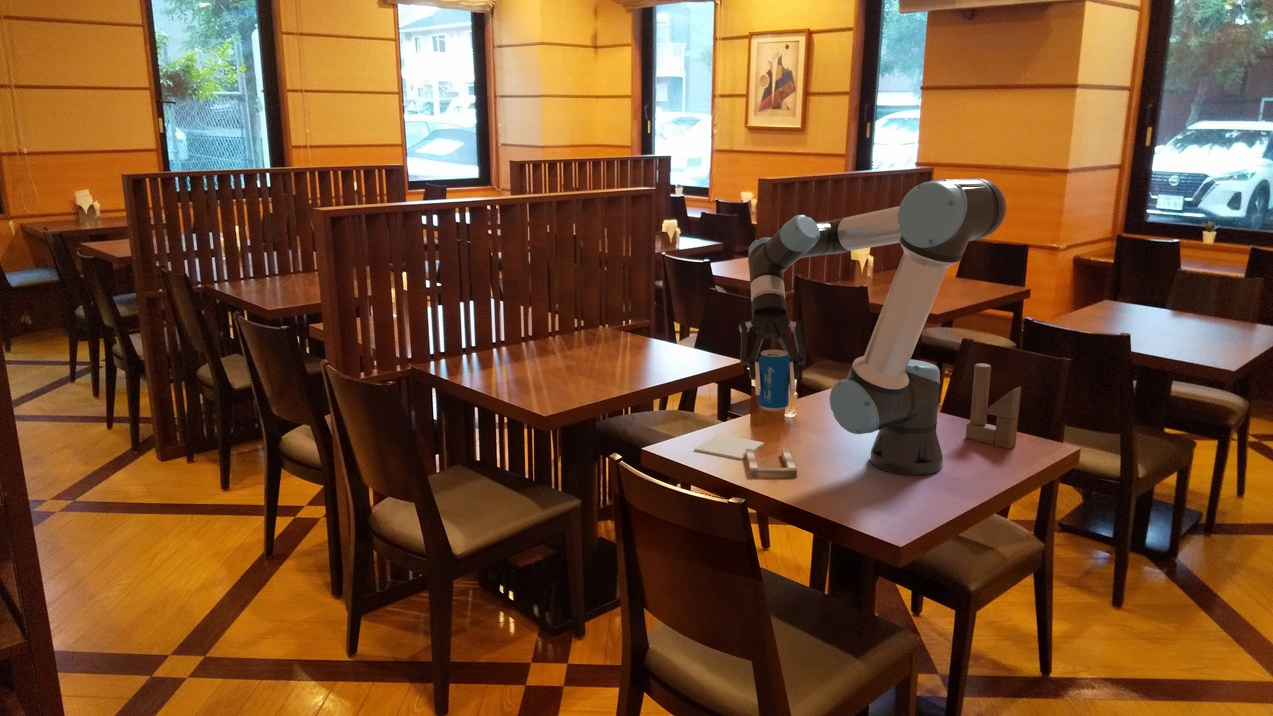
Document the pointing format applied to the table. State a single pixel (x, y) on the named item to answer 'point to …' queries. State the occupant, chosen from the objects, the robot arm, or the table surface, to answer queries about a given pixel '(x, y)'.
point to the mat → (728, 446)
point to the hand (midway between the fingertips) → (775, 391)
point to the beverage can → (774, 380)
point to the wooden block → (992, 412)
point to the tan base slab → (772, 472)
